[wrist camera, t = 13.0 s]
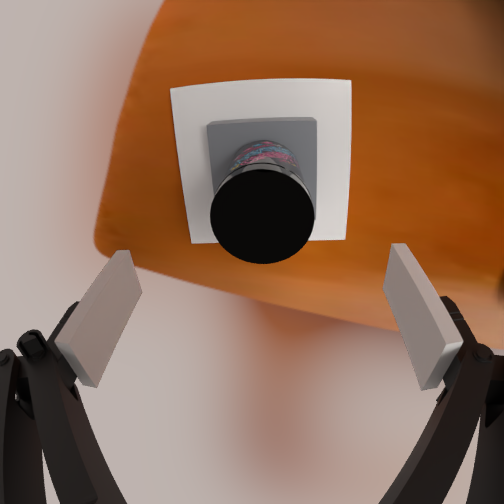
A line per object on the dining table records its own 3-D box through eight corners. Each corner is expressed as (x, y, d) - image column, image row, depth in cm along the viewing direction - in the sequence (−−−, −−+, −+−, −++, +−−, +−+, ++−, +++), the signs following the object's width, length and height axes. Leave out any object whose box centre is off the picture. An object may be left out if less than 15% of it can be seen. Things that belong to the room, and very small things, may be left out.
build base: (174, 88, 29) (160, 89, 25) (347, 80, 27) (359, 80, 23) (194, 237, 38) (185, 256, 34) (342, 233, 36) (350, 253, 33)
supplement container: (315, 175, 28) (335, 223, 20) (263, 218, 31) (259, 280, 22) (266, 123, 26) (264, 145, 17) (214, 171, 29) (188, 217, 20)
